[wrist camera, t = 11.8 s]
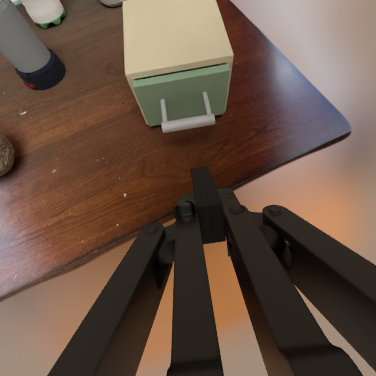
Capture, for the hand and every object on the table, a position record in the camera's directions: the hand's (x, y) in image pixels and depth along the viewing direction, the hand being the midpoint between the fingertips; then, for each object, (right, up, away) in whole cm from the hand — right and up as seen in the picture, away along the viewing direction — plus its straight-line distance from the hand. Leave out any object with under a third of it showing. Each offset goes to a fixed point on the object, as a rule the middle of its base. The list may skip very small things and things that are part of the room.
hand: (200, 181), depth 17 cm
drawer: (-2, +15, +16) cm, 22 cm away
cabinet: (-3, +19, +19) cm, 27 cm away
